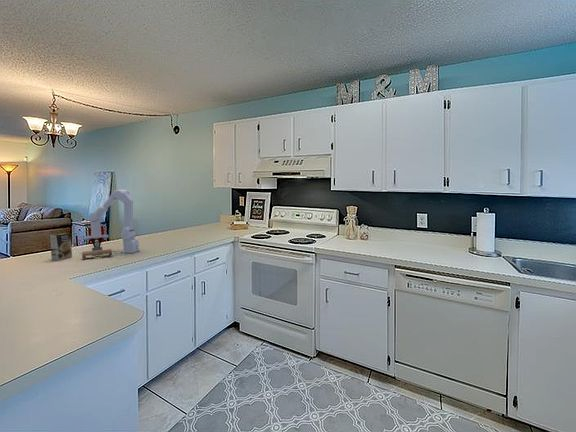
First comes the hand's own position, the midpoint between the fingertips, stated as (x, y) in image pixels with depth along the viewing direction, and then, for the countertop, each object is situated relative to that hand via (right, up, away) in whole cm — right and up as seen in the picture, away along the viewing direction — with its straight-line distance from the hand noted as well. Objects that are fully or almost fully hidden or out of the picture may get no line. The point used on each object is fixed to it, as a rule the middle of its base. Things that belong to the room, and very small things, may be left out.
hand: (97, 248), depth 213 cm
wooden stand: (+11, -4, -16) cm, 20 cm away
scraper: (+3, -3, -5) cm, 6 cm away
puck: (+11, -4, -17) cm, 21 cm away
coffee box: (-10, -4, -20) cm, 22 cm away
